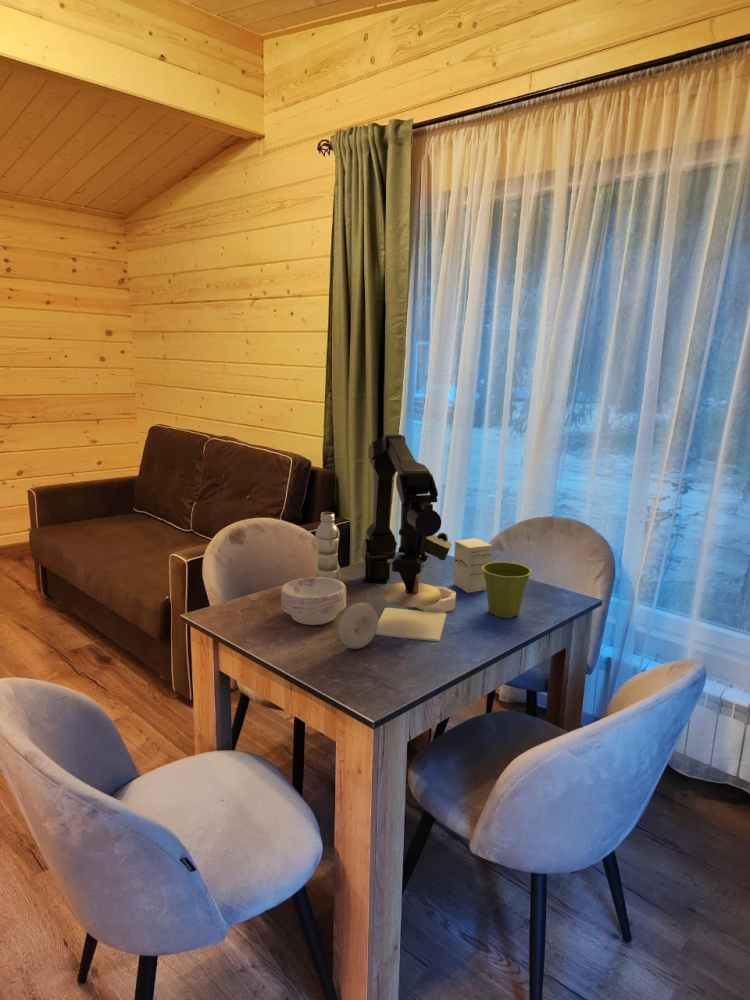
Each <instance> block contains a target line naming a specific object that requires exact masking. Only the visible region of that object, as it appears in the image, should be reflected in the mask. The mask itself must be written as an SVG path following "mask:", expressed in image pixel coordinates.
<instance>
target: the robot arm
mask: <svg viewBox="0 0 750 1000" xmlns="http://www.w3.org/2000/svg"><path fill="white" fill-rule="evenodd" d="M367 453H368V459H369V463H370V466H371V467H372V469H373V470H374V472H375V476H374V493H373V506H372V507H373V511H372V522H371V524H370V526H368V528H367V530H366V531H365V538H364V539H363V541H362V544H361V547H360V556H361V558H362V559H363V560H364V562H365V563H364V564H365V567H364V570H365V571H364V573H365V574H364V575H365V576H364V578H363V582H365V583H366V582H369V583H379V584H387V582H388V581H390V579H391V578H392V572H394V573H398V574H399V576H400V578H401V580H402V583H403V582H404V584H405V587H406V589H407V591H408V593H413V590H414V585H415V581H416V576H417V574H418V575H419V574H421V572H422V571H423V570H424V567H425V565H424V563H425V562H426V561H427V560H428V558H429V556H428V555H431V556H433V557H436V558H437V559H439V560H441V561H445V560H446V558H447V556H448V554H449V552H450V549H451V546H452V543H451V541H450V540H448V539H449V538H448V534H447V533H445V532H443V531H441V532H440V533H438V532H439V531H440V528H441V527H442V519H441V516H440V514H439V513H438V512H437V511H435V510H434V503H438V496H439V493H438V489H437V486H436V481H435V478H434V476H433V474H432V473H431V471H430V470H429V469H428V468H427V467H426V465H425V464H423V463H419V462H417V461H416V459H415V457H414V456H413V453H412V451H411V450H410V448H409V446H408V445H407V442H406V437H405V435H402V434H386V435H383V436H382V438H379V439H377V440H374V441H372V442H371V444H370V445H369V447H368V451H367ZM396 473H397V474H396ZM395 475H396V479H395V486H396V489H397V493H398V496H399V497H398V498H399V499H400V506H401V508H400V528H399V530H398V535H399V536H400V542H399V547H398V551H397V552H398V553H399V554H398V555H397V556H396V550H397V545H398V542H397V541H396V538H395V535H394V533H393V531H392V529H391V528H390V522H391V511H392V510H391V509H392V495H393V494H392V493H393V492H392V491H393V483H394V482H393V479H394V476H395ZM437 533H438V534H437ZM436 534H437V535H436ZM426 553H427V554H428V555H427V554H426ZM390 560H393V561H392V562H390Z"/></svg>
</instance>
